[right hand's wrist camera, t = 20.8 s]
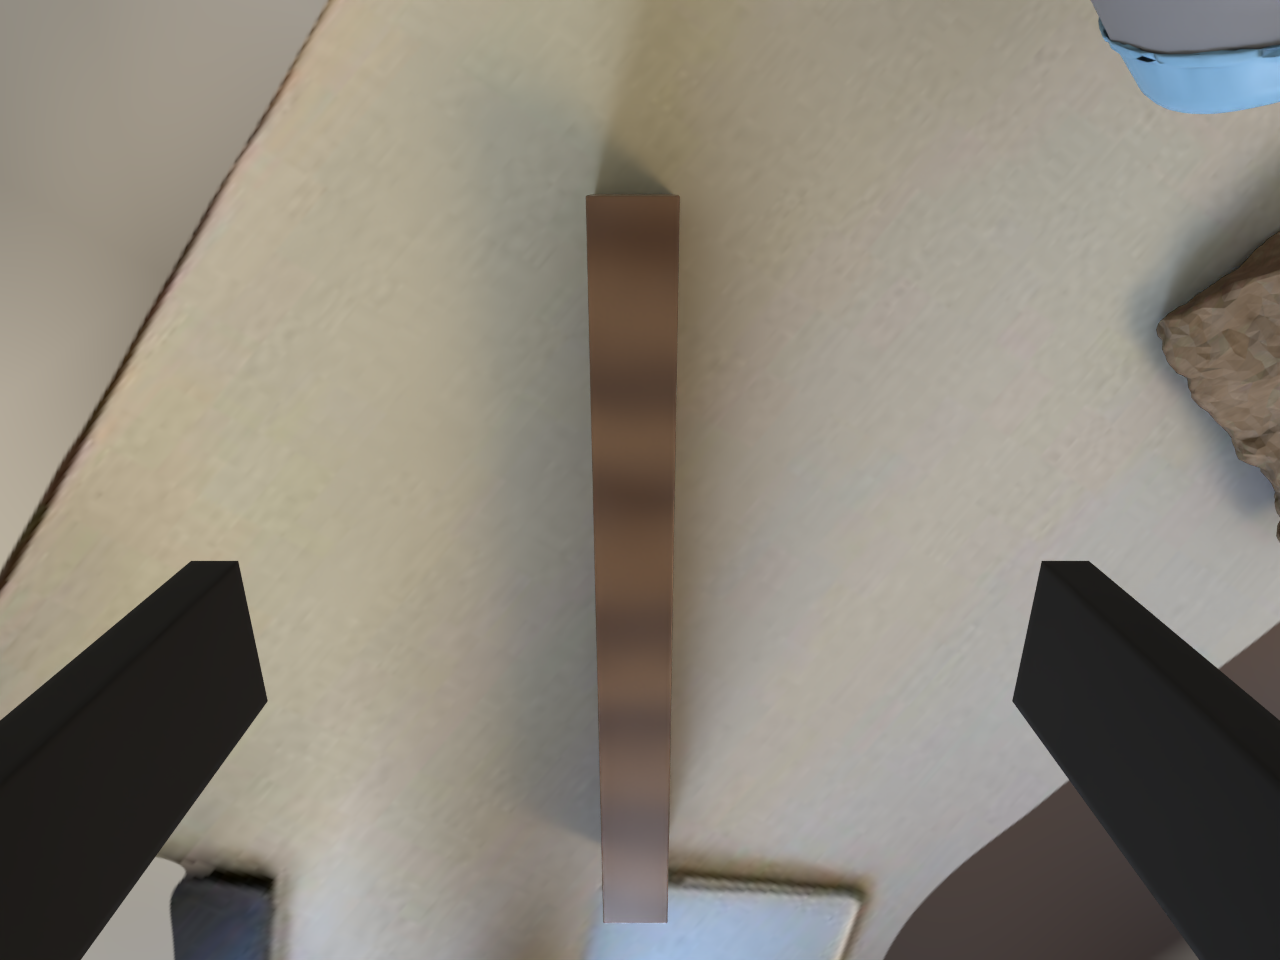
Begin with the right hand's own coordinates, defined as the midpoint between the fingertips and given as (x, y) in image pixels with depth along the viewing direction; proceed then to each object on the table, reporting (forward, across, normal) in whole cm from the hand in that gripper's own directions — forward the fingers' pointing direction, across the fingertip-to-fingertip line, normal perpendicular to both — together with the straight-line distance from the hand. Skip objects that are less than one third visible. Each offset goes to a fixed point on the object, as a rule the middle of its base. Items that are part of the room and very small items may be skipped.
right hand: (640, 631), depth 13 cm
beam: (+40, 0, -20) cm, 45 cm away
